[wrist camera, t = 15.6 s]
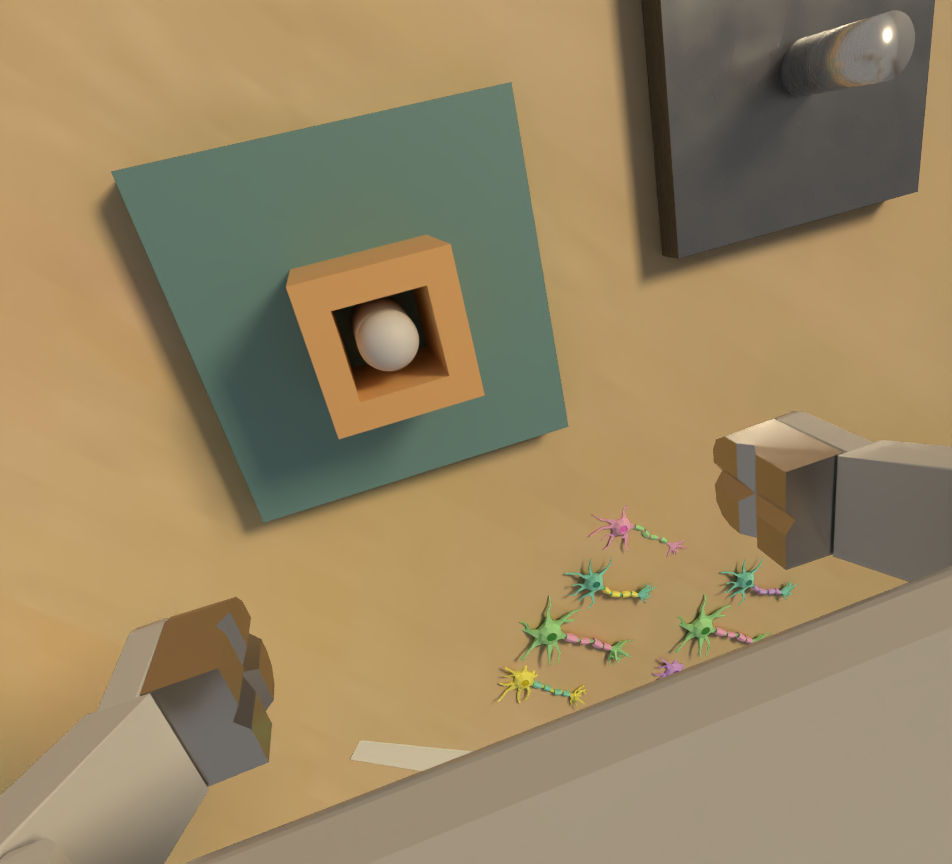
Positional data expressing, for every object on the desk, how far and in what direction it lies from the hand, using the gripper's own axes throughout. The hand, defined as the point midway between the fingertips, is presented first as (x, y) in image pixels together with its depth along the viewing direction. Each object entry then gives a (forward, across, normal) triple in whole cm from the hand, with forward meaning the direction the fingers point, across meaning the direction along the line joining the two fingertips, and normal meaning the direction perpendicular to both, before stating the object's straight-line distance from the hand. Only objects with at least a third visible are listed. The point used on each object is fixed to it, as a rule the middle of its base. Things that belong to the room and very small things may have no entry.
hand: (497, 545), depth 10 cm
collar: (+19, 0, 0) cm, 19 cm away
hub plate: (+20, 0, 0) cm, 21 cm away
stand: (+21, -22, -6) cm, 31 cm away
